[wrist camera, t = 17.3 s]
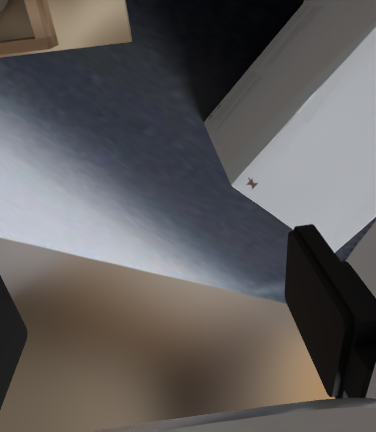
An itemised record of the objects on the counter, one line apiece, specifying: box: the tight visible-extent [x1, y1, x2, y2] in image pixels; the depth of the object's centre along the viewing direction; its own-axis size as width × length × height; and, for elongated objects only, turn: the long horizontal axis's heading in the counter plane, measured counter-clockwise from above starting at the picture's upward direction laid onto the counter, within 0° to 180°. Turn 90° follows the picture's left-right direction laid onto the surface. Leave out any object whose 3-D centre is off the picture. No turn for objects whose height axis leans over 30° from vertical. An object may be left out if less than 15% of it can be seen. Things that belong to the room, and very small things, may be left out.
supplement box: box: [204, 0, 376, 253], centre depth 36 cm, size 17×13×18 cm
